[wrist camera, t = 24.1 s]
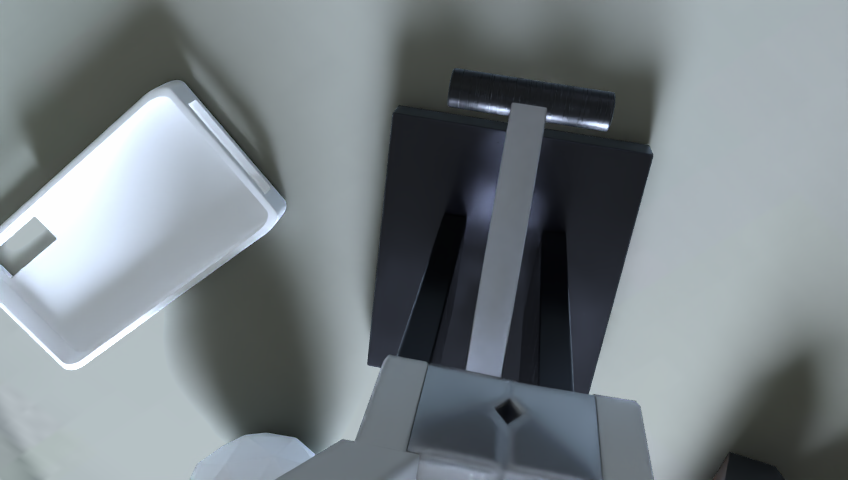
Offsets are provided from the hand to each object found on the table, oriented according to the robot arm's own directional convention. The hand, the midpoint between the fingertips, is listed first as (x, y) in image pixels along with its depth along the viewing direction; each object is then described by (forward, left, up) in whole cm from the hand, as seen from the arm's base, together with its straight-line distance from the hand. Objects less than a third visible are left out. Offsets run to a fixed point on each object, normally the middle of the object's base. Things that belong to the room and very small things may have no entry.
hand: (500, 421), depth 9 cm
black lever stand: (+8, 0, -21) cm, 23 cm away
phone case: (+10, -17, -21) cm, 29 cm away
